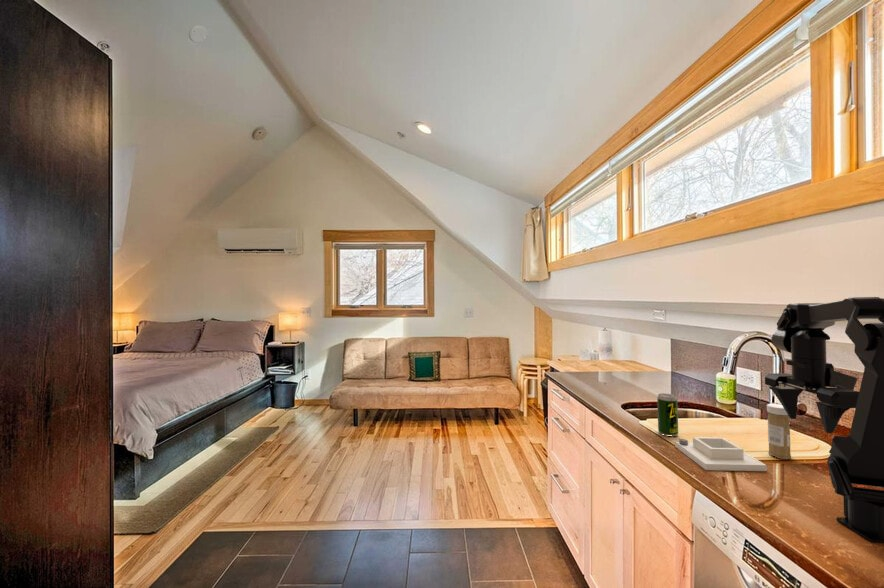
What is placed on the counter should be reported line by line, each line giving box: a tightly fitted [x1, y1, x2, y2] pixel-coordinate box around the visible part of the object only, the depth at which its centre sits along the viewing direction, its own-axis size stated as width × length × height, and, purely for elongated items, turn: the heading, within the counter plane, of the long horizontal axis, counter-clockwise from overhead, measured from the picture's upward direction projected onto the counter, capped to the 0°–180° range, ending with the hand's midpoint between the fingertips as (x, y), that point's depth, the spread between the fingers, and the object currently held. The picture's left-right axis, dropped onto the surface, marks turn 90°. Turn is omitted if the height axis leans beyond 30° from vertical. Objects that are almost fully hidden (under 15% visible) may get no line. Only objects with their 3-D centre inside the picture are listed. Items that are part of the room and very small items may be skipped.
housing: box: [674, 436, 768, 472], centre depth 98 cm, size 14×14×4 cm
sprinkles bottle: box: [766, 403, 792, 460], centre depth 98 cm, size 5×5×13 cm
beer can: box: [656, 392, 679, 437], centre depth 115 cm, size 5×5×12 cm
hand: (810, 425), depth 85 cm, fingers open, 9 cm apart
